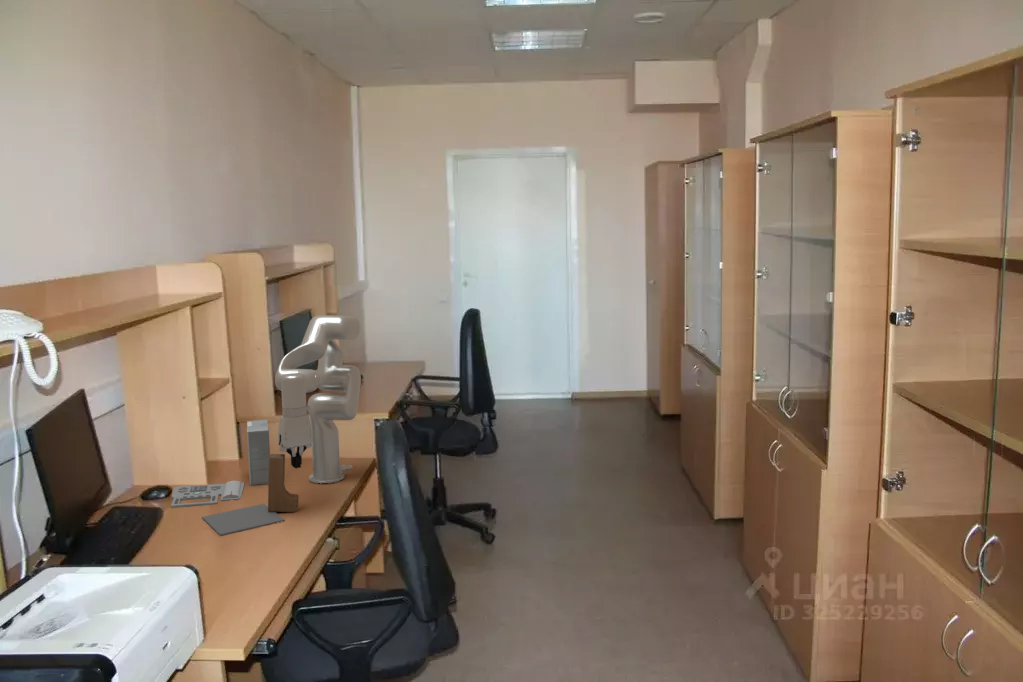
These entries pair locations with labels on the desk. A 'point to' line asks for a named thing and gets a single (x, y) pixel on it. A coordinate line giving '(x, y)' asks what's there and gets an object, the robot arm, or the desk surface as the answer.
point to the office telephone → (207, 493)
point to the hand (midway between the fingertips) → (296, 467)
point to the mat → (242, 519)
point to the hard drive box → (258, 451)
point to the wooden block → (279, 487)
